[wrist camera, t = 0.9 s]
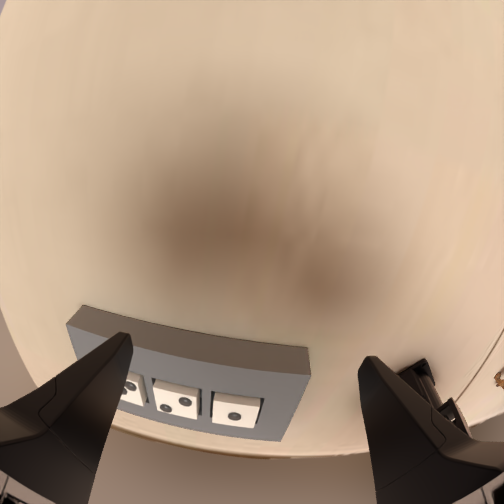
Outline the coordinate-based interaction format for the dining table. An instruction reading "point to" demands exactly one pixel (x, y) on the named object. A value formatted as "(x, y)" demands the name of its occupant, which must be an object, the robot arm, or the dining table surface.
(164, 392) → the tile two
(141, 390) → the tile three
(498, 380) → the lion figurine
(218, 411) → the tile one
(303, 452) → the dining table surface
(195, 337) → the tile board
